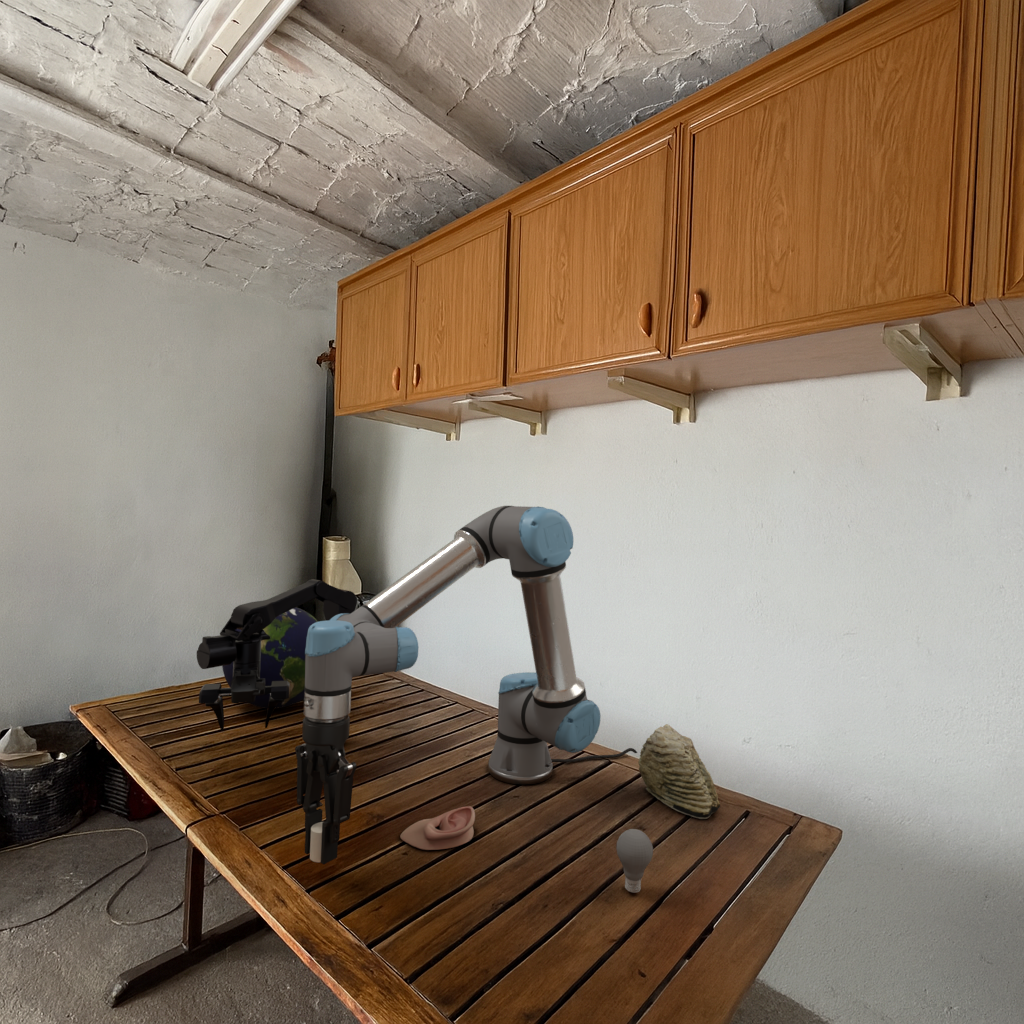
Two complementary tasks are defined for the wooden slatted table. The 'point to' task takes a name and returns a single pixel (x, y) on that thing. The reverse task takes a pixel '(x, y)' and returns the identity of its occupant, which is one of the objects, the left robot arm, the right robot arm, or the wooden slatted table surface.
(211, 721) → the wooden slatted table surface
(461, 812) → the anatomical model
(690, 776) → the fossil
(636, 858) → the light bulb
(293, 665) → the globe
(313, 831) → the cylinder
